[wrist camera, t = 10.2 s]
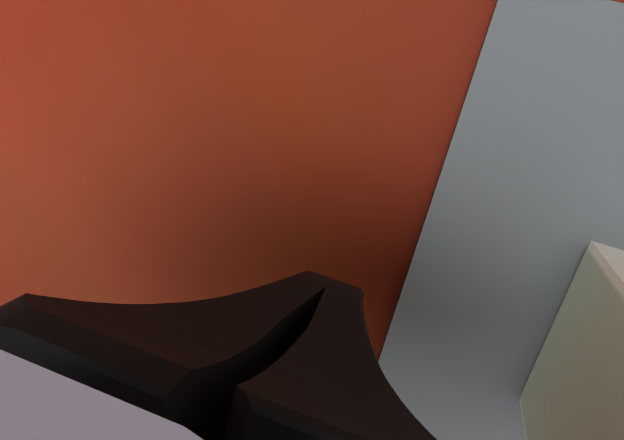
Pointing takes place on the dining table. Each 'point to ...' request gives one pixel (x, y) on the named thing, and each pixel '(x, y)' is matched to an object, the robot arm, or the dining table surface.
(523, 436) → the mat
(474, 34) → the dining table surface
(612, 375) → the block
